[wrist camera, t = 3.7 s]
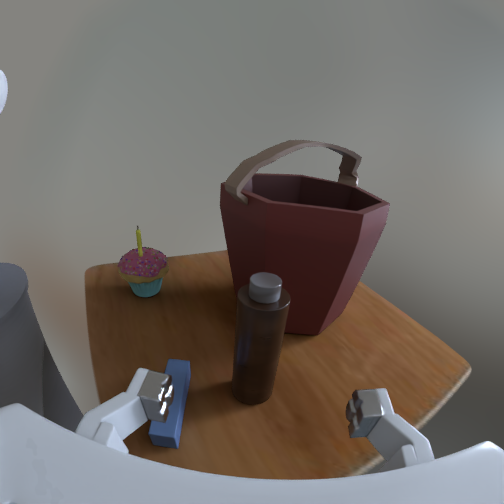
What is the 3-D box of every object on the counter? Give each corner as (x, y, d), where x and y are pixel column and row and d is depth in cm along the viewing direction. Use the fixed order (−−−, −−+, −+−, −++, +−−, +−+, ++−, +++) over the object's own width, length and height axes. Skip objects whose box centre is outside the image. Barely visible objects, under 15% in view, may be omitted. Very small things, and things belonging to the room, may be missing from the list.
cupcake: (171, 302, 42) (166, 229, 37) (119, 305, 40) (107, 233, 35) (169, 275, 50) (165, 211, 45) (124, 278, 47) (116, 214, 42)
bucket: (320, 264, 58) (338, 143, 48) (390, 326, 39) (436, 167, 29) (203, 279, 50) (205, 132, 39) (243, 371, 31) (262, 139, 21)
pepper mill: (244, 410, 25) (257, 299, 20) (224, 382, 29) (229, 272, 23) (279, 395, 28) (304, 286, 22) (258, 370, 31) (272, 263, 25)
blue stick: (177, 449, 20) (174, 438, 19) (153, 444, 20) (147, 433, 19) (191, 374, 29) (189, 360, 28) (170, 372, 29) (168, 358, 28)
